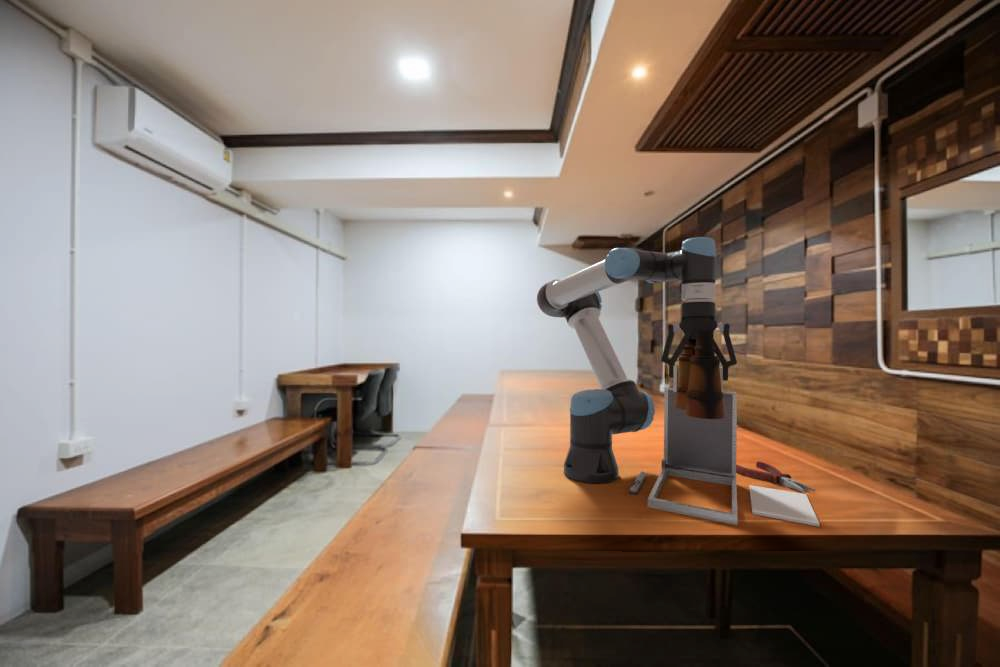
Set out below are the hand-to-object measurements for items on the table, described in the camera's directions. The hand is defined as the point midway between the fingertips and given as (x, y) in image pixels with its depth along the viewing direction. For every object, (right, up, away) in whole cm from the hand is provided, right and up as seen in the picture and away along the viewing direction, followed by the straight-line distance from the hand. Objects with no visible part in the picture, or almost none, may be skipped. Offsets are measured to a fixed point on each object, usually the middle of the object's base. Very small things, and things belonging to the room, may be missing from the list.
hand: (697, 392), depth 102 cm
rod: (-12, -26, +7) cm, 29 cm away
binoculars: (0, -5, 0) cm, 5 cm away
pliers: (+25, -26, +12) cm, 38 cm away
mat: (+17, -26, -5) cm, 31 cm away
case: (0, -26, 0) cm, 26 cm away
